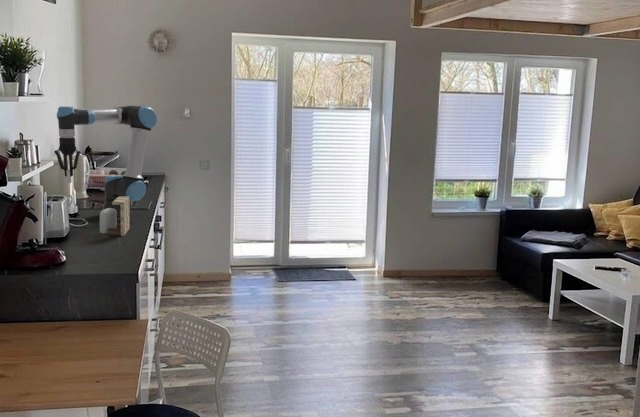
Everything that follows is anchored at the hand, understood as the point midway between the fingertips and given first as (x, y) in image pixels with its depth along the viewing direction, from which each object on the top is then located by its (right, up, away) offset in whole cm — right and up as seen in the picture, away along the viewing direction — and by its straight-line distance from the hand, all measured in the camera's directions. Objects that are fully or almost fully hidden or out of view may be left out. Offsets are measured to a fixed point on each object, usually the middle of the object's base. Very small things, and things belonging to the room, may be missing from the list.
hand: (69, 182), depth 323 cm
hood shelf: (+25, -26, +1) cm, 36 cm away
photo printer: (+20, -26, 0) cm, 33 cm away
